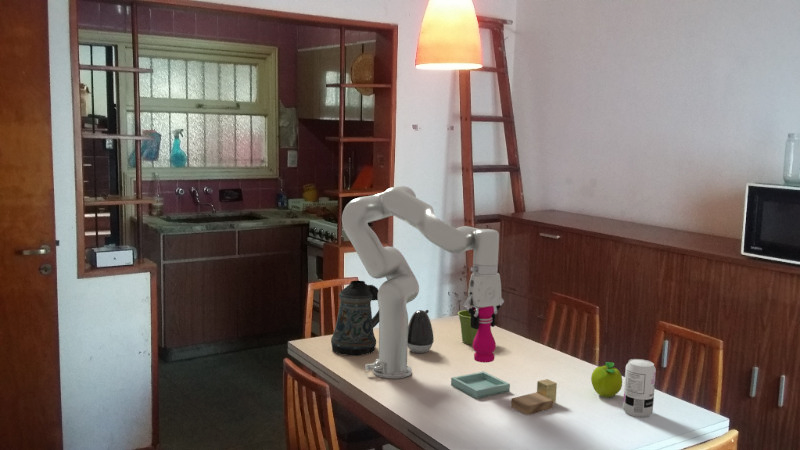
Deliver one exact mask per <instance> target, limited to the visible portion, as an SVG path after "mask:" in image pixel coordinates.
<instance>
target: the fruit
mask: <svg viewBox="0 0 800 450" xmlns="http://www.w3.org/2000/svg"><path fill="white" fill-rule="evenodd" d="M614 366H615V363H614V362H608V361H605V365H602V366H597V367H595V369H593V371H592V373H591V378H590V380H591V385H592V388H593V389H594V391H595V393H597V395H599V396H600V397H602V398H612V397H614V396H616V395H617V394H618V393H619V392H620V391H621V390H622V387H623V377H622V373H621V372H620V371H619V369H618V368H616V367H614Z"/></svg>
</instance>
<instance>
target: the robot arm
mask: <svg viewBox="0 0 800 450" xmlns="http://www.w3.org/2000/svg"><path fill="white" fill-rule="evenodd" d="M434 211H435V210H434V207H433V206H432V205H430V204H429V203H427V202H424V201H423V200H421V199H419V198H418V197H417V196H416V193H415V192H414V190H413V189H412V188H410V187H409V186H405V185H400V186H391V187H389V188H387V189H386V190H385V191H383V192H380V193H377V194H373V195H368V196H359V197H357V198H354V199H352V200H350V201H349V202H348V203H347V204H346V205H345V207H344V209H343V211H342V215H341V223H342V228H343V230H344V234H345V235H346V237H347V238H348V240H349V242H351V243H350V244H351V245H352V246H353V249H354V250H355V253H356V254H357V256H358V258H359V259H360V261H361V263H362V265H363V266H364V268H365V270H366V272H367V273H368V275H369V276H370V277H372V279H378V280H379V279H383V278H386V280H385V281H384V282H383V283H382V284H381V285H380V286H379V288H378V295H377V298H378V300H377V305H378V310H379V323H378V324H379V325H378V358H375V361H374V362H373V363H366V364H365V365H364V369H365V370H366V371H370V370H372V371H373V374H374V375H375V376H377V377H380V378H383V379H403V378H404V379H405V378H408V377H409V376H411V375H412V370H413V369H412V368H411V367H410V366H409V365H408V350H409V348H408V325H409V314H408V309H407V308H408V307H407V304H409V303H410V302H411V301H412V302H413V300H415V299H416V298H417V297H418V295H419V292H420V285H419V281H418V280H417V278H416V276H415V273H414V272H413V270H412V268H411V267H410V265H409V263H408V262H407V259H406V258H405V256H404V255H403V254H402V252H401V251H400V250H399V249H397V248H396V247H394V246H383V244H382V242H381V241H380V238H379V237H378V235H377V234H376V232H375V231H374V230H373V229H372V228H371V227H370V226H369V224H368V223H370V222H371V223H372V222H374V221H379V220H383V219H386V218H390V217H392V216H394V217H396V218H397V219H399V220H401V221H403V222H404V223H406V224H408V225H410V226H412V227H413V228H415V229H416V230H418V231H419V233H420V234H421V235H422V236H423V237H424V238H425V239H427V241H429V242H430V243H431V244H433V245H435V246H437V247H439V248H440V249H442V250H444V251H446V252H448V253H451V254H456V255H457V254H461V253H462V254H463V253H465V252H467V251H470V250H473V258H472V266H471V267H470V272H472V273H471V275H470V279H469V282H468V289H467V290H468V291H467V298H466V299H465V301H464V302H463V304H462V307H463V308H464V309H465V310H467V311H468V312H469V314H470V315H471V327H472V328H474V329H479V317H478V312H479V308H485V307H488V306H493V307H494V313H493V315H492V316H491V317H492V322H491V327H493V328H494V327H496V315H497V314H498V311H499V310H500V308H501V306H502V305H503V304H504V302H505V300H504V298H503V296H502V282H501V276H500V273H499V272H498V270H499V269H498V268H499V267H498V266H499V243H500V233H499V231H497V230H496V229H490V228H478V227H477V228H476V227H472V226H469V225H464V226H459V227H457V228H456V227H454V226H451V225H449V224H448V223H445V222H444V221H442V219H440V218H439V217H437V216H436V214H435V212H434ZM474 310H475V311H474Z"/></svg>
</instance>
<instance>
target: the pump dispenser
mask: <svg viewBox="0 0 800 450" xmlns="http://www.w3.org/2000/svg"><path fill="white" fill-rule="evenodd" d="M428 313H429V310H428V309H426V310H423V309H419V310H416V311H415V312H413V314H412V316H411V318H410V320H409V321H408V350H409V351H411V352H412V353H415V354H423V353H424V354H425V353H427V352H429V351H430V350H431V349H432V346H433V344H434V339H435V338H434V331H433V326H432V323H431V318H430V317H429V314H428Z"/></svg>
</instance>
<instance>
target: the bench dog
mask: <svg viewBox="0 0 800 450" xmlns="http://www.w3.org/2000/svg"><path fill="white" fill-rule="evenodd" d="M536 384H537V385H536V392H537V393H539V394H541V395H544V396H546V397H548V398H550V399H552V400H553V404H555V403H557V388H558V387H557V386H558V385H557V382H555V381H552V380H550V379H547V378H546V379H542V380H537V383H536Z"/></svg>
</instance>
